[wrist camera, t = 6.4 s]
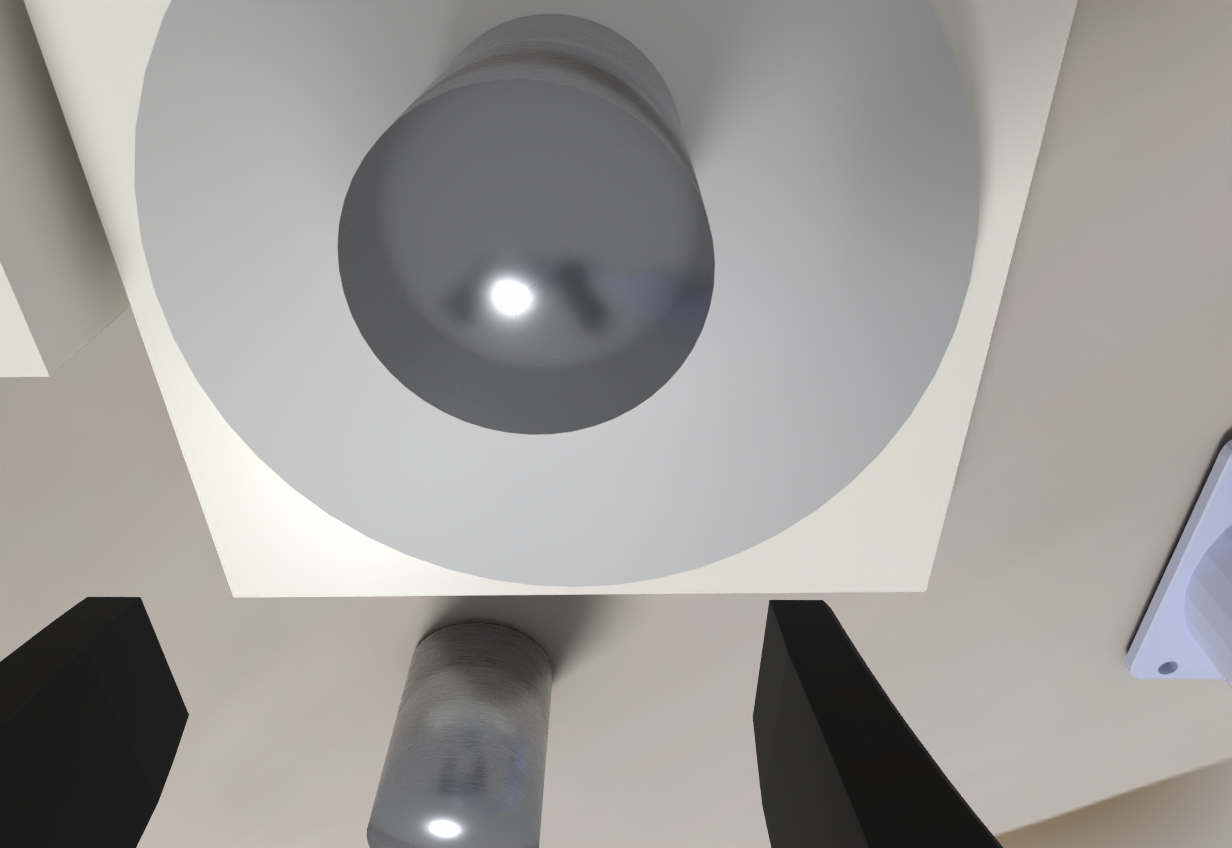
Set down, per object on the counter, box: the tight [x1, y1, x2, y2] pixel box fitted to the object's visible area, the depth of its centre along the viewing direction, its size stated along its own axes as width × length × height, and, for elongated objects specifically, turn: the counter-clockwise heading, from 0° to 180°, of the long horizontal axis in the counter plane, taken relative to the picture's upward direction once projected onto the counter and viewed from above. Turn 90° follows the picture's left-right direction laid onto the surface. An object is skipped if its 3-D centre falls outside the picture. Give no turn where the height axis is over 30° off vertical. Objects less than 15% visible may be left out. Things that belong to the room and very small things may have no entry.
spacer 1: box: [337, 14, 715, 435], centre depth 11 cm, size 4×4×5 cm
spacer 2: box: [367, 623, 552, 848], centre depth 22 cm, size 4×4×5 cm
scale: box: [0, 0, 1078, 597], centre depth 15 cm, size 20×16×4 cm
